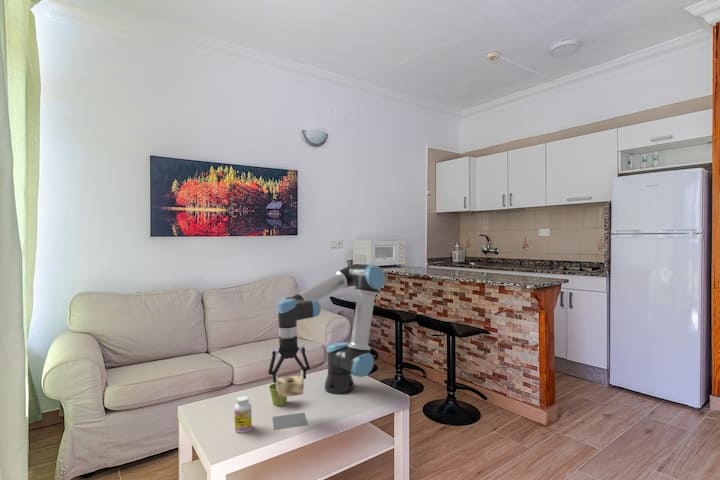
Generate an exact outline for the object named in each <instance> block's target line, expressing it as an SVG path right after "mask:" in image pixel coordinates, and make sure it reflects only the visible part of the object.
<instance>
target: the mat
mask: <svg viewBox="0 0 720 480" xmlns="http://www.w3.org/2000/svg"><path fill="white" fill-rule="evenodd" d="M271 417H272V424H273V425H272V426H273V431H276V430H277V431H278V430H284V429H290V428H297V427H304V426H309V423H308V419H307V416H306V413H305V412H299V413H292V414H284V415H276V416H271Z"/></svg>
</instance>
